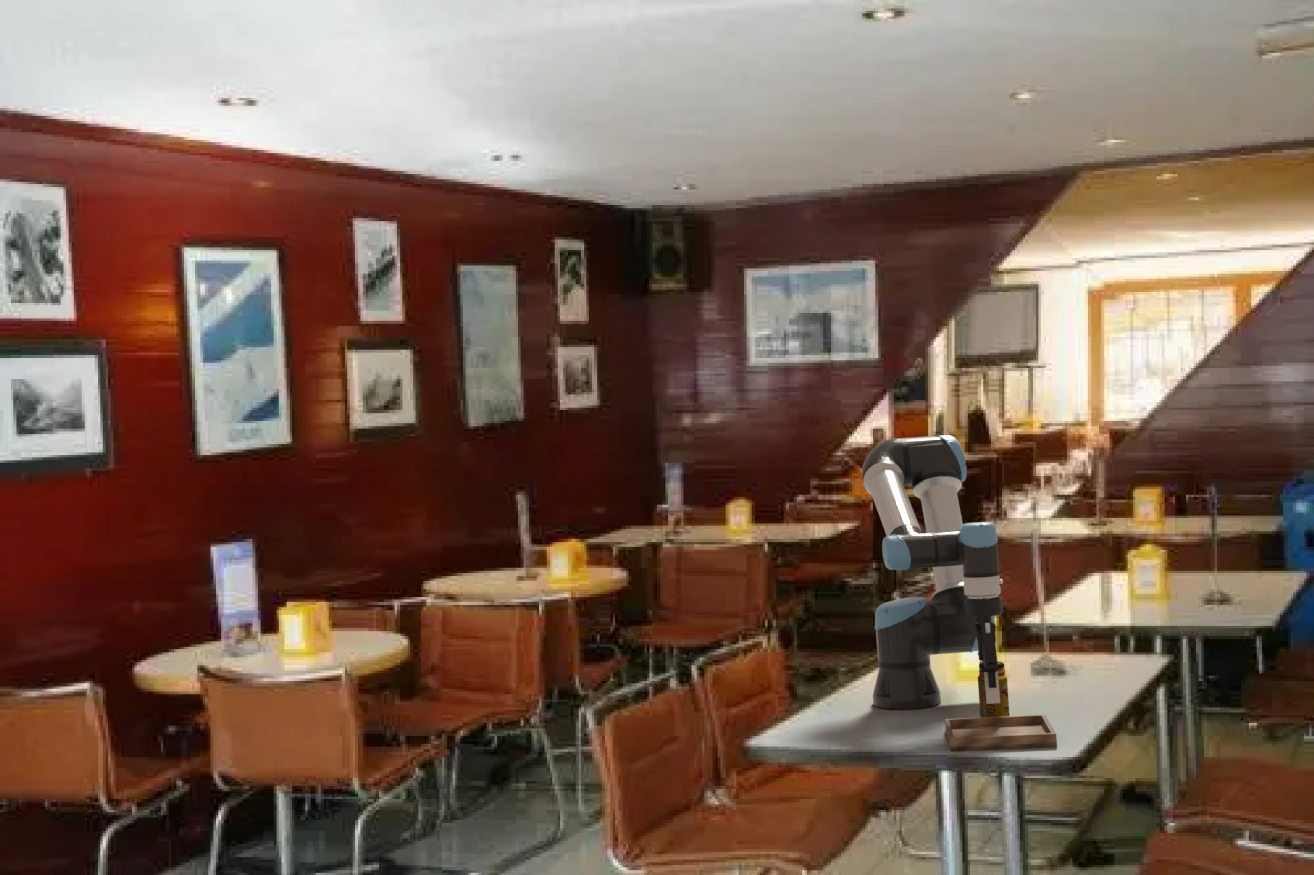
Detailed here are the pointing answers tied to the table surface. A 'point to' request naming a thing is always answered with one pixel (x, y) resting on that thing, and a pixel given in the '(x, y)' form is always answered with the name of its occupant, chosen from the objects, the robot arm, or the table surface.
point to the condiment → (1003, 706)
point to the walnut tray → (1000, 733)
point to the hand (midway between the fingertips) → (990, 697)
